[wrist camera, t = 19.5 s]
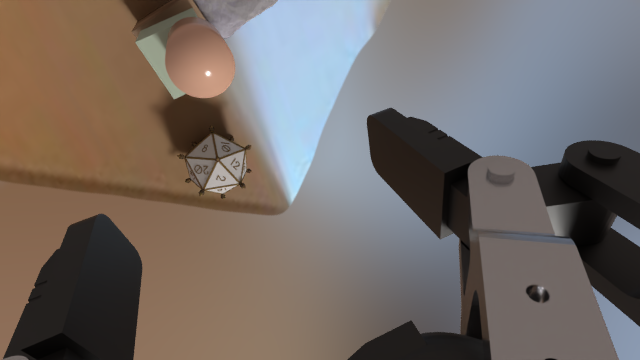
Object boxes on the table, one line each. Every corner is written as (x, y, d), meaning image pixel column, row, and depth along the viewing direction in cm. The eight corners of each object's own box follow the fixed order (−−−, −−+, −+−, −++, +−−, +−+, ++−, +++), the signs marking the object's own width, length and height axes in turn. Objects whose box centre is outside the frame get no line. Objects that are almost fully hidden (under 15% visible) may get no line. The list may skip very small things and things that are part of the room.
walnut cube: (178, 72, 37) (178, 88, 32) (137, 21, 33) (131, 32, 28) (222, 44, 37) (229, 56, 32) (187, -10, 33) (189, -5, 28)
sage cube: (174, 82, 31) (174, 99, 28) (140, 30, 28) (135, 42, 24) (220, 60, 32) (227, 74, 28) (192, 7, 29) (195, 15, 25)
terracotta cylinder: (183, 81, 27) (185, 106, 22) (155, 27, 24) (151, 42, 20) (232, 64, 28) (244, 85, 23) (211, 9, 25) (219, 21, 20)
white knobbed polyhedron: (205, 148, 46) (170, 204, 40) (196, 103, 40) (153, 162, 34) (264, 165, 46) (238, 224, 40) (266, 122, 40) (234, 185, 34)
